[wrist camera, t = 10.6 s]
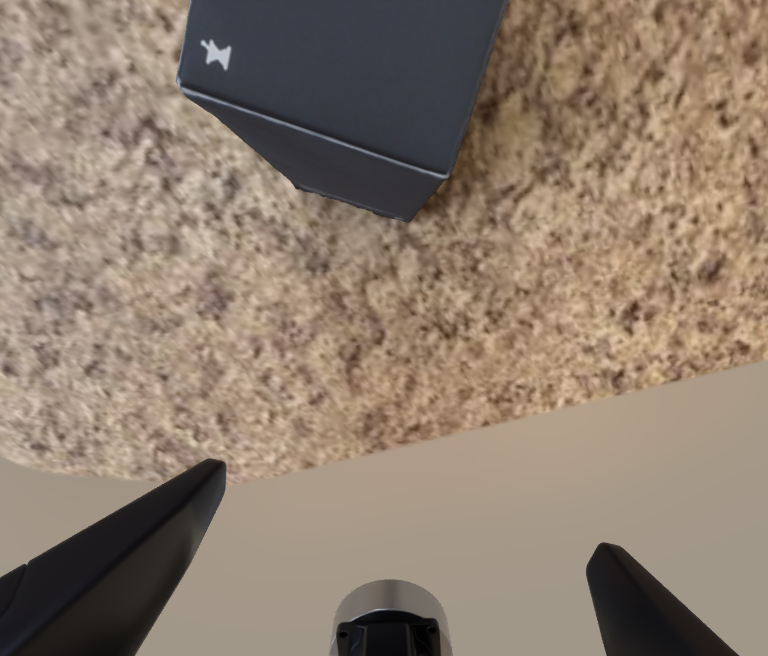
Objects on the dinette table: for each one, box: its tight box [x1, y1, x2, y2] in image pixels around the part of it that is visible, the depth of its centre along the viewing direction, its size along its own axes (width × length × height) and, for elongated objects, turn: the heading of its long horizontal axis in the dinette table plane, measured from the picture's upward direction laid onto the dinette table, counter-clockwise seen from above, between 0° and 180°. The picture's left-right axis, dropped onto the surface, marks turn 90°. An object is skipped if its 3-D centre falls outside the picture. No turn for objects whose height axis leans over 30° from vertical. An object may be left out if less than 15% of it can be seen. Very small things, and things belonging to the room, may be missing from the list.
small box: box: [176, 0, 509, 222], centre depth 12 cm, size 11×6×10 cm, turn 163°
